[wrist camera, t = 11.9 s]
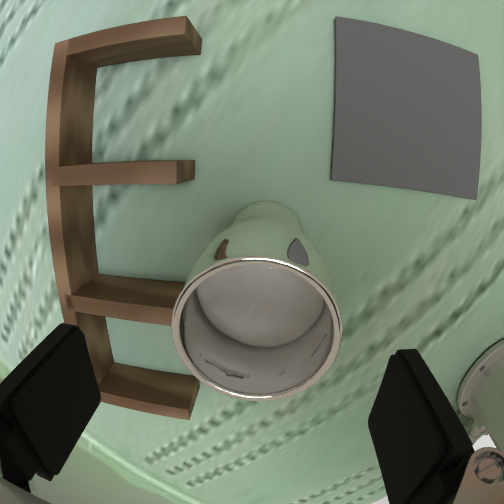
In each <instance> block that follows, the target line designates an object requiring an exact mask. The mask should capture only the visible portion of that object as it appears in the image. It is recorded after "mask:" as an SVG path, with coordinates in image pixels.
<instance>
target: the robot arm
mask: <svg viewBox="0 0 504 504" xmlns="http://www.w3.org/2000/svg"><path fill="white" fill-rule="evenodd" d="M100 401H101V394H100V390H99V387H98V384H97V380H96V377H95V373H94V370H93V366H92V363H91V359H90V355H89V351H88V347H87V343H86V339H85V335H84V333H83V332H82V331H81V330H80V328H79V327H78V326H76V325H71V324H66V323H61V324H60V325H58V326H57V327H56V328H55V329H54V330H53V331H52V332H51V333H50V334H49V335H48V336H47V337H46V338H45V339H44V340H43V341H42V342H41V343H40V344H39V345H38V346H37V347H36V348H35V349H34V350H33V351H32V352H31V353H30V354H29V355H28V356H27V357H26V358H25V359H24V360H23V361H22V362H21V363H20V364H19V365H18V366H17V367H16V368H15V369H14V370H13V371H12V372H11V373H10V374H9V375H8V376H7V377H6V378H5V379H4V380H3V381H2V382H1V384H0V504H51V503H49V502H46V501H44V500H42V499H40V498H38V496H37V492H36V488H35V484H34V480H33V476H34V475H35V473H36V474H37V475H38V476H40V477H42V478H45V479H47V480H49V481H51V480H52V478H53V476H54V475H57V474H59V473H60V471H61V469H62V467H63V465H64V464H65V462H66V460H67V459H68V457H69V455H70V453H71V452H72V450H73V448H74V446H75V445H76V443H77V441H78V439H79V438H80V436H81V434H82V432H83V431H84V429H85V427H86V426H87V424H88V422H89V421H90V419H91V417H92V416H93V414H94V412H95V411H96V409H97V407H98V406H99V404H100ZM457 404H458V407H459V409H460V411H461V412H462V414H464V415H465V416H467V417H472V418H473V421H472V428H471V429H470V430H469V432H468V433H467V432H466V430H465V429H464V427H463V425H462V423H461V422H460V420H459V418H458V416H457V414H456V413H455V411H454V409H453V408H452V406H451V404H450V402H449V401H448V399H447V397H446V396H445V394H444V392H443V391H442V389H441V387H440V386H439V384H438V382H437V381H436V379H435V378H434V376H433V374H432V373H431V371H430V369H429V368H428V366H427V365H426V363H425V362H424V360H423V358H422V357H421V355H420V354H419V352H418V351H417V350H416V349H402V350H397V352H396V353H395V355H391V357H390V359H389V362H388V365H387V368H386V371H385V374H384V377H383V380H382V383H381V386H380V388H379V391H378V394H377V397H376V399H375V402H374V405H373V407H372V410H371V413H370V415H369V419H368V427H369V430H370V434H371V437H372V441H373V444H374V448H375V451H376V455H377V458H378V462H379V466H380V469H381V473H382V477H383V480H384V484H385V488H386V492H387V496H388V500H389V504H504V340H502V341H500V342H498V343H497V344H495V345H494V346H492V347H491V348H490V349H489V350H487V351H486V352H485V353H484V354H483V355H482V356H481V357H480V358H479V359H478V360H477V361H476V363H475V364H474V365H473V366H472V367H471V369H470V370H469V372H468V373H467V375H466V376H465V378H464V380H463V382H462V384H461V386H460V389H459V391H458V396H457ZM481 432H482V433H483V434H484V435H488V434H489V435H490V437H491V439H492V440H493V442H494V444H495V446H496V447H497V448H492V447H484V448H481V449H479V450H476V451H474V449H473V447H472V446H473V444H474V443H475V442H476V440H477V439H478V437H479V436H480V433H481Z"/></svg>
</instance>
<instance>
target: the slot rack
mask: <svg viewBox="0 0 504 504" xmlns="http://www.w3.org/2000/svg"><path fill="white" fill-rule="evenodd" d="M201 44H202V38H201V37H200V35H199V34H198V32H197V31H196V29H195V28H194V26H193V25H192V23H191V22H190V21H189V19H188V18H187V16H181V17H172V18H164V19H157V20H150V21H144V22H138V23H133V24H128V25H123V26H118V27H113V28H109V29H105V30H100V31H96V32H93V33H89V34H85V35H81V36H78V37H74V38H71V39H68V40H65V41H61V42H58V43H55V47H54V53H53V60H52V66H51V74H50V82H49V92H48V103H47V117H46V141H45V174H46V198H47V213H48V225H49V234H50V243H51V251H52V258H53V265H54V272H55V278H56V284H57V289H58V294H59V299H60V304H61V309H62V314H63V318H64V323H66V324H71V325H76V326H78V327H79V328H80V330H81V331H82V332H83V333H84V335H85V339H86V343H87V347H88V351H89V355H90V359H91V363H92V366H93V370H94V373H95V377H96V380H97V384H98V387H99V390H100V394H101V402H104V403H108V404H112V405H116V406H120V407H124V408H129V409H133V410H138V411H142V412H147V413H152V414H157V415H162V416H168V417H174V418H179V419H186V420H190V416H191V413H192V410H193V407H194V404H195V400H196V397H197V394H198V391H199V388H200V385H199V380H198V379H197V378H196V377H195V376H190V375H182V374H175V373H168V372H162V371H156V370H150V369H144V368H139V367H133V366H128V365H123V364H118V363H114V360H113V356H112V351H111V346H110V341H109V336H108V331H107V326H106V320H105V317H112V318H118V319H125V320H131V321H138V322H146V323H153V324H161V325H169V326H171V321H172V314H173V309H174V306H175V303H176V301H177V298H178V296H179V295H180V293H181V291H182V290H183V288H184V285H185V283H184V282H172V281H161V280H150V279H140V278H129V277H120V276H110V275H100V274H99V273H98V265H97V256H96V245H95V234H94V220H93V201H92V185H113V184H179V183H182V182H185V181H189V180H192V179H195V160H154V161H123V162H103V163H92V125H93V106H94V93H95V82H96V72H97V68H98V67H103V66H108V65H114V64H120V63H126V62H132V61H139V60H147V59H155V58H164V57H174V56H187V55H201Z"/></svg>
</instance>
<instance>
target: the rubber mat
mask: <svg viewBox="0 0 504 504" xmlns="http://www.w3.org/2000/svg"><path fill="white" fill-rule="evenodd" d="M480 154H481V85H480V70H479V60H478V55H477V54H474V53H472V52H469V51H467V50H464V49H462V48H459V47H456V46H454V45H451V44H448V43H445V42H442V41H439V40H436V39H433V38H430V37H427V36H423V35H420V34H417V33H413V32H409V31H406V30H402V29H398V28H394V27H390V26H385V25H381V24H376V23H372V22H367V21H361V20H356V19H350V18H344V17H337V16H336V17H335V96H334V125H333V146H332V163H331V178H330V180H335V181H346V182H355V183H365V184H373V185H382V186H390V187H398V188H405V189H412V190H419V191H426V192H433V193H439V194H445V195H451V196H457V197H463V198H468V199H474V200H476V199H477V190H478V181H479V169H480Z"/></svg>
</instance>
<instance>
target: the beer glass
mask: <svg viewBox="0 0 504 504" xmlns="http://www.w3.org/2000/svg"><path fill="white" fill-rule="evenodd" d="M171 330H172V337H173V342H174V345H175V348H176V351H177V353H178V355H179V357H180V359H181V360H182V362H183V363H184V365H185V366H186V367H187V369H188V370H189V371H190V372H191V373H192V374H193V375H194V376H195V377H196V378H197V379H198V380H200V381H201V382H202V383H204V384H205V385H206V386H208V387H210V388H211V389H213V390H215V391H217V392H219V393H222V394H224V395H227V396H230V397H233V398H237V399H242V400H250V401H269V400H276V399H281V398H285V397H289V396H292V395H294V394H297V393H299V392H301V391H303V390H305V389H307V388H308V387H310V386H311V385H313V384H314V383H315V382H317V381H318V380H319V379H320V378H321V377H322V376H323V375H324V374H325V373H326V372H327V371H328V370H329V368H330V367H331V365H332V364H333V362H334V361H335V359H336V357H337V354H338V352H339V349H340V346H341V341H342V333H343V326H342V318H341V313H340V310H339V307H338V305H337V299H336V294H335V290H334V286H333V282H332V279H331V276H330V273H329V270H328V268H327V265H326V263H325V261H324V259H323V258H322V256H321V254H320V252H319V251H318V249H317V247H316V246H315V245H314V243H313V242H312V241H311V240H310V239H309V238H308V237H307V236H306V235H305V234H304V232H303V228H302V225H301V223H300V221H299V219H298V218H297V216H296V215H295V214H294V213H293V212H292V211H291V210H290V209H288V208H287V207H285V206H283V205H281V204H279V203H275V202H268V201H264V202H257V203H254V204H251V205H249V206H247V207H245V208H244V209H243V210H241V211H240V212H239V213H238V214H237V215H236V217H235V218H234V220H233V222H232V224H231V226H230V227H229V228H227V229H225V230H224V231H222V232H221V233H220V234H218V235H217V236H216V237H215V238H214V239H213V240H212V241H211V242H210V244H209V245H208V246H207V247H206V248H205V249H204V251H203V252H202V253H201V255H200V256H199V258H198V260H197V261H196V263H195V265H194V266H193V268H192V270H191V272H190V274H189V276H188V279H187V281H186V283H185V285H184V288H183V290H182V291H181V293H180V295H179V296H178V298H177V301H176V303H175V306H174V309H173V314H172V321H171Z"/></svg>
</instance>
